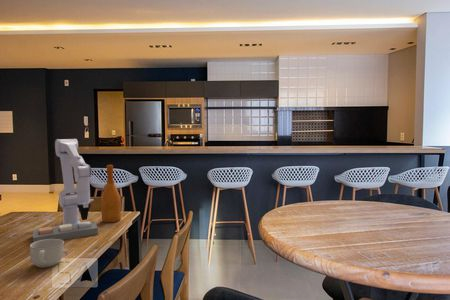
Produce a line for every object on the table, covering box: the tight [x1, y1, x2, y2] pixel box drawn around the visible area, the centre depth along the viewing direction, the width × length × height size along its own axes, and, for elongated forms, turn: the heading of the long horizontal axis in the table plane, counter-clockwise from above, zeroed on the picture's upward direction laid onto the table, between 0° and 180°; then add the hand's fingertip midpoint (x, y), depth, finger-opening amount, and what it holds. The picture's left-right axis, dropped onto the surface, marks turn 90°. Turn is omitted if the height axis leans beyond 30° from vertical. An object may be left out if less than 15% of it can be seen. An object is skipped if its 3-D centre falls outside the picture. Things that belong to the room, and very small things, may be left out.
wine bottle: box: [100, 164, 122, 223], centre depth 170 cm, size 10×10×30 cm
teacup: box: [29, 239, 65, 268], centre depth 115 cm, size 14×11×8 cm
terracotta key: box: [38, 226, 53, 235], centre depth 143 cm, size 5×5×2 cm
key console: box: [32, 221, 99, 243], centre depth 148 cm, size 12×26×3 cm, turn 121°
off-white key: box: [58, 224, 72, 232], centre depth 147 cm, size 5×5×2 cm
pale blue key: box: [78, 220, 91, 229], centre depth 152 cm, size 5×5×2 cm
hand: (84, 219), depth 151 cm, fingers closed
